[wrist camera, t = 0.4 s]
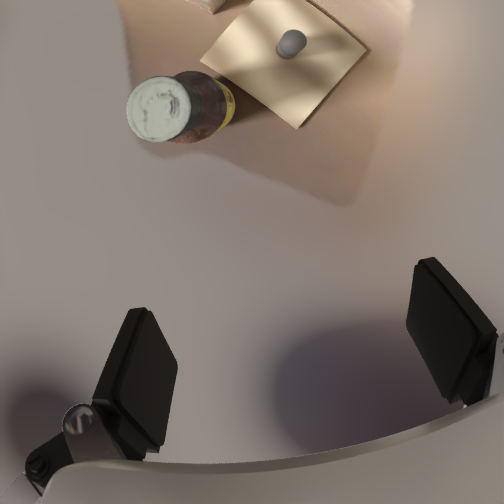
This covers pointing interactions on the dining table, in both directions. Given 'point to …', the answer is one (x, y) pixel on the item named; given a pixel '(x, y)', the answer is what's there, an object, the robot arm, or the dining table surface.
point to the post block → (284, 56)
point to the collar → (207, 5)
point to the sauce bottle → (179, 108)
